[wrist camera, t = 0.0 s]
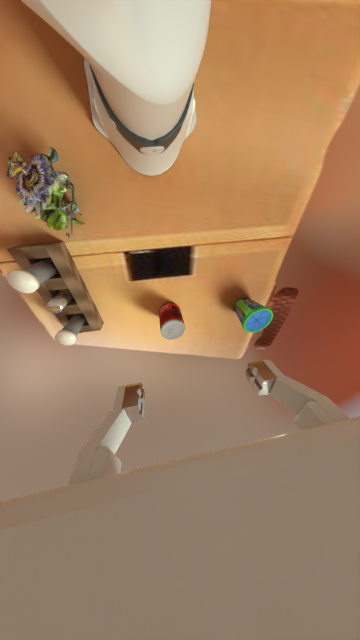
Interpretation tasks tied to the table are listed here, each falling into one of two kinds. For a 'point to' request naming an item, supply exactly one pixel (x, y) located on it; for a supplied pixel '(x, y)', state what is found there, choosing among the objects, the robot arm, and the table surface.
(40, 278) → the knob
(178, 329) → the canned food
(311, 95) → the table surface
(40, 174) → the passion flower
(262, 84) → the table surface
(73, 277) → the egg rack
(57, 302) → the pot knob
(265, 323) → the snack cup
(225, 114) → the table surface
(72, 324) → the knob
